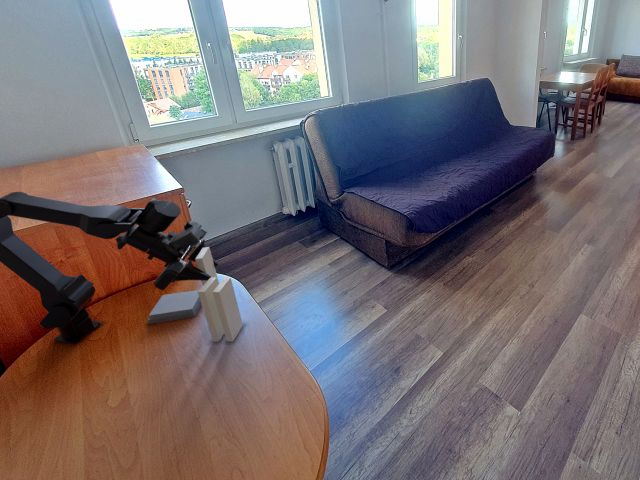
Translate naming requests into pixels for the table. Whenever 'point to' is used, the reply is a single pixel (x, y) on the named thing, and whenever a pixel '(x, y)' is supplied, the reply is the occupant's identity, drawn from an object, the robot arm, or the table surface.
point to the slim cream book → (206, 263)
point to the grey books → (175, 307)
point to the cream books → (220, 309)
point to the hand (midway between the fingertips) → (213, 272)
